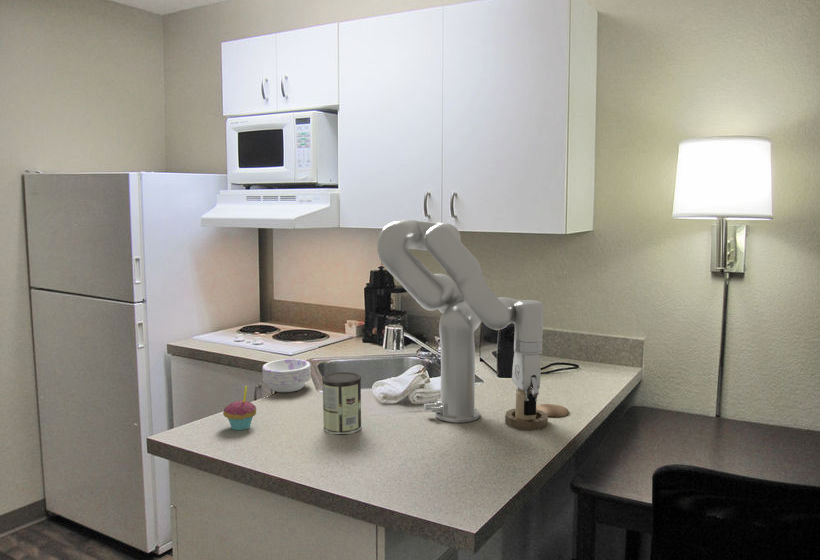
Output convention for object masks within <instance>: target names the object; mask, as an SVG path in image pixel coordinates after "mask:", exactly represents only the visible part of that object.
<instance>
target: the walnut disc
mask: <svg viewBox="0 0 820 560" xmlns="http://www.w3.org/2000/svg"><path fill="white" fill-rule="evenodd" d="M536 410H540V411H543V412H545V413H546V414H548V418H562V417H566V416H568V414H569V409H568V408H567V407H564V406H562V405H559V404H553V403H552V404H550V403H544V404H543V403H542V404H538V405H537V404H536Z"/></svg>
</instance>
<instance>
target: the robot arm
mask: <svg viewBox="0 0 820 560" xmlns="http://www.w3.org/2000/svg"><path fill="white" fill-rule="evenodd" d="M461 237H462V236H461V234H460V231H459V229H458V228H457V227H456V225H455V226H454V225H453V224H451V223H448V222H447V223H446V222H434V221H424V220H417V219H402V220H396V221H392V222H390V223H387V224H386V225H385V226H384V227H383V228H382V229H381V231H380V232H379V235H378V239H377V245H376V246H377V255H378V258H379V260H380V261H381V264H382V265H383V267H384V268H385V270H386V271H387V272H388V273H389V274H390V275H391V276H392V277H393V278H394V279H395V281H396V282H398V283H399V285H401V286H402V288H404V290H405V291H406V292H407V293H408V294H409V295H410V296H411V297H412V298H413V299H414V300H415V301H416V303H418V305H419V306H420V307H421V308H423V309H424V310H426V311H431V312H432V311H437V310H438V311H439V312H440V313H441V316H440V319H439V322H438V323H439V324H438V333H439V342H440V398H436V399H437V400H436V401H434V403H433V402H432V403H430V402H429V403H424V404H423V410H424V411H430V412H431V413H434V415H435V417H436V418H437V419H439V420H440V421H444V422H448V423H460V424H461V423H469V422H473V421H476V420H478V419H479V418H480V416H481V415H480V413H481V412H480V410H479V409H478V408H476V407H475V390H476V389H475V383H476V382H475V381H476V379H475V377H476V376H475V374H476V346H475V345H476V344H475V331H476V330H477V329H478V328H479V327H480V325H481V323H483V324H484V326H486V327H487V328H489V329H491V330H495V331H499V330H503V329H505V328H506V327H508V325H510V324H514V336H513V352H514V353H513V358H512V361H513V362H512V370H511V371H512V372H511V381H512V383H513V384H514V385H515V386H516V387H515V388H516V389H515V393H516V392H517V391H518V390H519V389H521V390H522V391H525V398H526V401H524V415H525V416H528V415H536V405H537V401H538V395H539V393H540V391H539V390H540V388H541V355H540V354H542V353H543V341H544V340H543V339H544V338H543V336H544V333H543V332H544V312H545V311H544V310H545V309H544V307H545V306H544V304H543V302H541V301H540V300H535V299H518V298H512V297H508V296H500V297H497V296H496V294H495V293H494V292H493V290H492V289H491V288H490V287H489V285H488V284H487V282H486V281H485V278H484V275H483V273H482V272H483V271H482V267H481V264H480V262H479V261H478V260H477V258H476V257H475V256H474V255H473V254H472V253H471V252H470V250H469V249H468V248H467V247H466V246H465V245H464V243H463V242H462V241H461V239H462V238H461ZM410 250H421V251H428V253H429V254H430V255H431V256H432V258H433V259H434V260H435V261H436V262H437V263H438V264H439V266H441V268H442V269H443V270H444V272H445V273H446V274H447V275H446V274H443V273H433V272H432V271H431V270H429V268H427V266H425V264H424V263H423V262H422V261H421V260H420V259H418V258H417V257H416V256H414V254H412V253H411V251H410ZM529 387H531V388H532V389H528V388H529ZM528 392H532V393H530V395H529V394H528Z"/></svg>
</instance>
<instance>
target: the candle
mask: <svg viewBox="0 0 820 560" xmlns="http://www.w3.org/2000/svg"><path fill="white" fill-rule="evenodd" d="M528 389H532V387H529V388H528ZM530 393H532V392H528V394H529V395H530ZM524 401H526V398H525V391H522V390H521V389H519V390H518V391H517V392H516V391H515V409H516V411H515V418H519V419H524V420H534V419H536V415H528V416H525V415H524Z"/></svg>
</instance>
